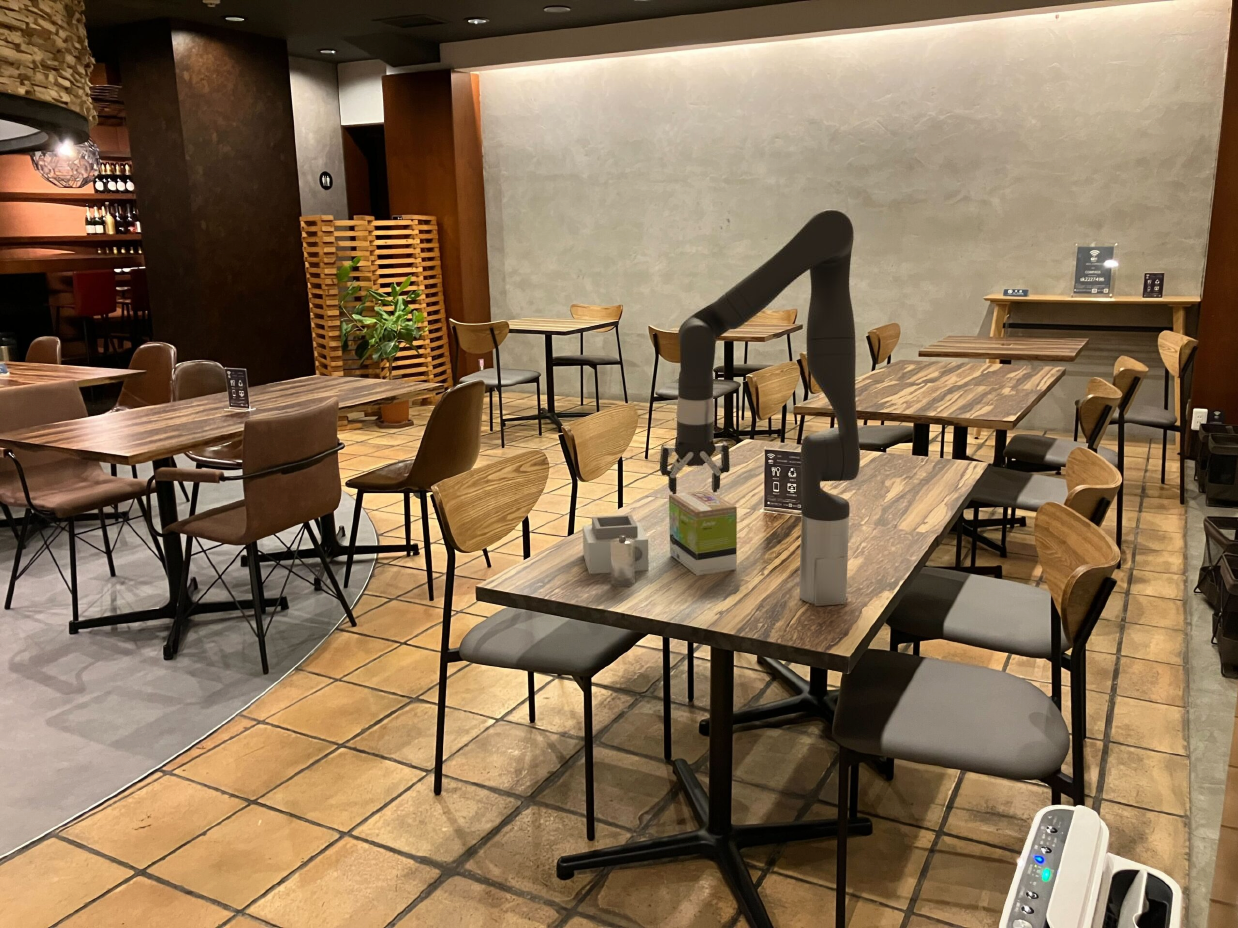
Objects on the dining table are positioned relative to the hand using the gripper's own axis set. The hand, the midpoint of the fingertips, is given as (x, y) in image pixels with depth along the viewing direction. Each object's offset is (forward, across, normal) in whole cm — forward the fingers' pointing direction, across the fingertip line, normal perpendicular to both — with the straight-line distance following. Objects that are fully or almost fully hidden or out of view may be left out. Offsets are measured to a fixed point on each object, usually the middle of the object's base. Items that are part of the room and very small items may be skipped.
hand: (694, 492), depth 203 cm
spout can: (+19, -15, -3) cm, 24 cm away
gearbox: (+20, -16, +10) cm, 27 cm away
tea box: (+20, +3, +7) cm, 21 cm away
